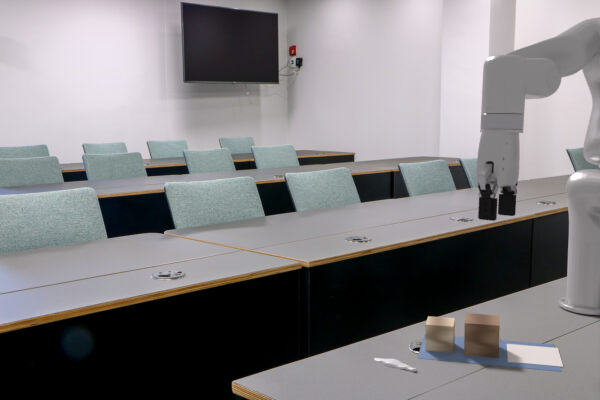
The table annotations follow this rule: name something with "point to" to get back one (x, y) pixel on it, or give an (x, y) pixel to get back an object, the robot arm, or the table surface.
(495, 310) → the table surface
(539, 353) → the board
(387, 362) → the stylus pen
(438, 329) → the maple cube
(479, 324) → the walnut cube
